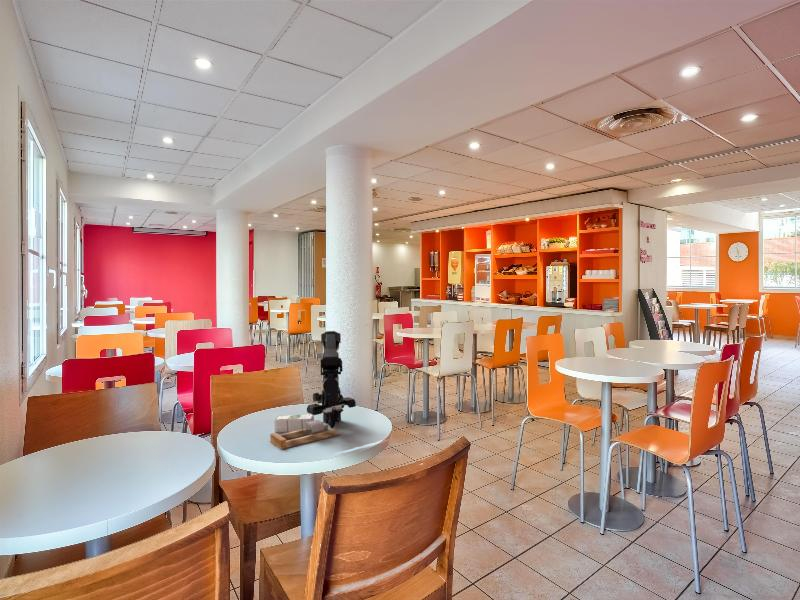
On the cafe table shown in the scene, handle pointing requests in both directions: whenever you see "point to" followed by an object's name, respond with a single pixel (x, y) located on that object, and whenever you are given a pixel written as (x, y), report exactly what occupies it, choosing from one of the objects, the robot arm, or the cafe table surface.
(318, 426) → the grey pink cube
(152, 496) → the cafe table surface
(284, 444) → the brown shallow tray
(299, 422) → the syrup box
